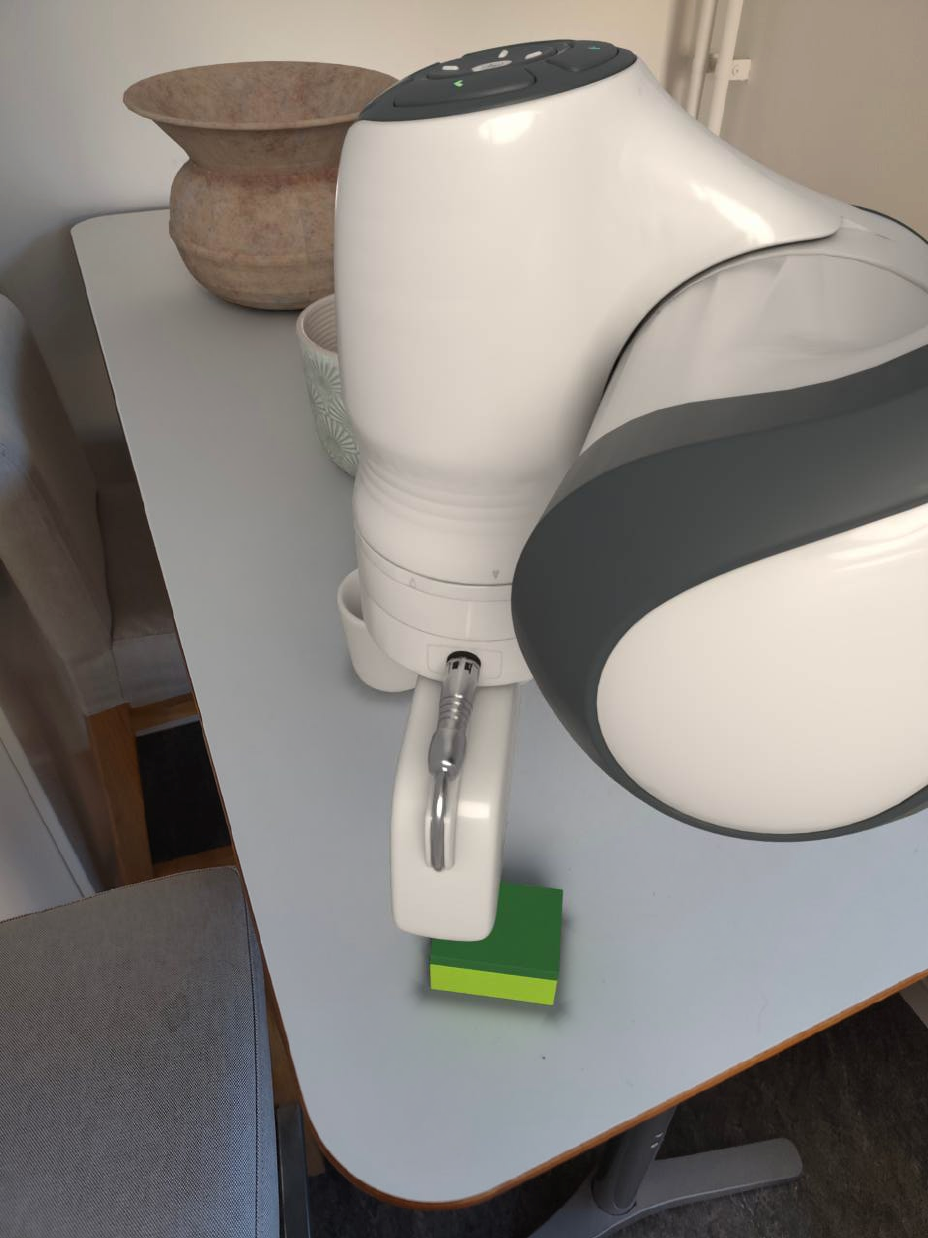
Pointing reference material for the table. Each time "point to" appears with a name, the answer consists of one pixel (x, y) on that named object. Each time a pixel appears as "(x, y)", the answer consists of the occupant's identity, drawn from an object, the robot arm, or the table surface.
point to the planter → (326, 382)
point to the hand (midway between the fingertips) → (473, 796)
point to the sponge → (507, 950)
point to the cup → (368, 643)
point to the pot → (258, 171)
